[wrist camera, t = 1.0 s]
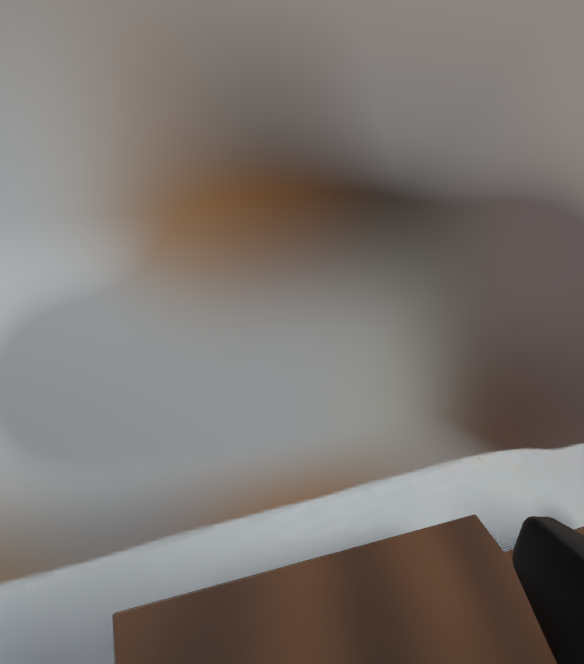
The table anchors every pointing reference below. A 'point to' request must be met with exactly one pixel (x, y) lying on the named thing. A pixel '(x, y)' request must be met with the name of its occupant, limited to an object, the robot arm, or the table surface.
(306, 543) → the table surface
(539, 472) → the table surface
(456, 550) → the cabinet
